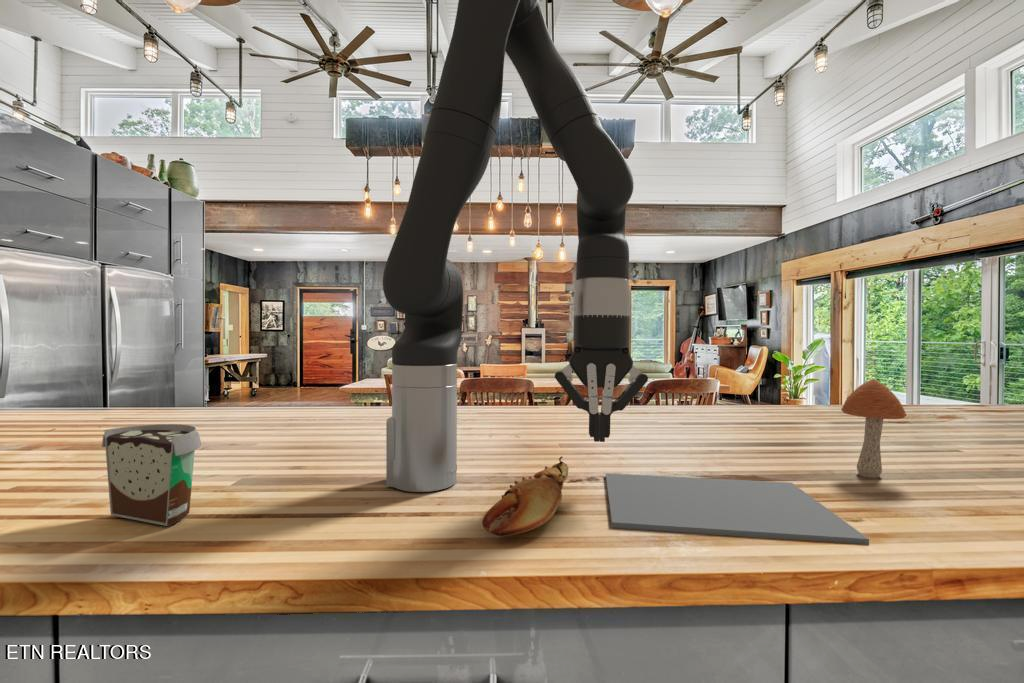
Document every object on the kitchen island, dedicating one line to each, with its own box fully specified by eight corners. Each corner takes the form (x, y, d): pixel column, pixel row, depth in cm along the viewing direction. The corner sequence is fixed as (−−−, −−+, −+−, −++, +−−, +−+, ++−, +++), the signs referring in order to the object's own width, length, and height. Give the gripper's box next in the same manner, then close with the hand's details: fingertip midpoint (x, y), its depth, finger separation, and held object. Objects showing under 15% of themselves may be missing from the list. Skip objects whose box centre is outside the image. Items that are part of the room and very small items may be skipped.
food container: (226, 508, 59) (225, 427, 59) (176, 527, 53) (176, 437, 53) (155, 497, 63) (155, 420, 63) (102, 513, 57) (101, 429, 57)
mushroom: (896, 473, 75) (897, 378, 75) (913, 488, 68) (915, 382, 68) (835, 467, 78) (837, 375, 78) (845, 481, 71) (847, 380, 71)
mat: (611, 527, 54) (612, 522, 54) (605, 477, 72) (605, 473, 72) (869, 544, 50) (869, 539, 50) (791, 486, 68) (791, 482, 68)
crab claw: (594, 459, 64) (527, 538, 47) (589, 493, 66) (522, 581, 49) (548, 444, 68) (468, 512, 50) (543, 476, 69) (465, 554, 52)
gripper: (550, 312, 63) (548, 444, 63) (655, 313, 61) (653, 449, 61) (554, 314, 70) (552, 432, 70) (648, 315, 68) (645, 437, 68)
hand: (599, 440), depth 66 cm, fingers closed
